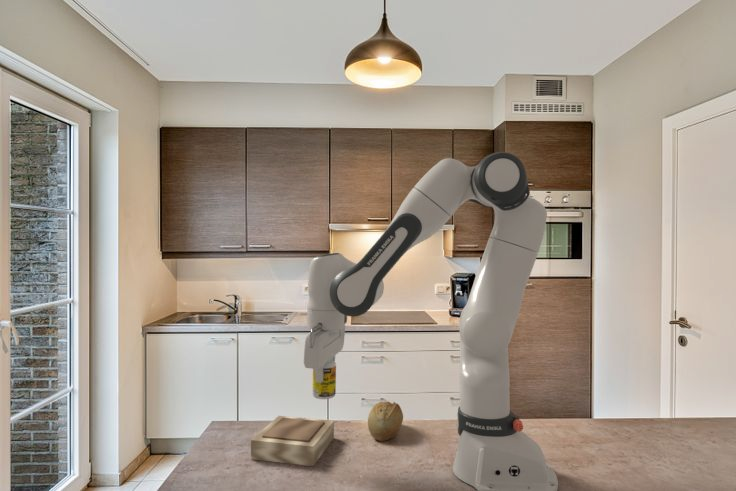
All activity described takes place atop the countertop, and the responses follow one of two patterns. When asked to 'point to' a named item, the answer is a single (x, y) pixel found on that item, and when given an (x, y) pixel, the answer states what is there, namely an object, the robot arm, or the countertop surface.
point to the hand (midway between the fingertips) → (324, 377)
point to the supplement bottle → (326, 382)
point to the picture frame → (293, 440)
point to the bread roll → (385, 420)
